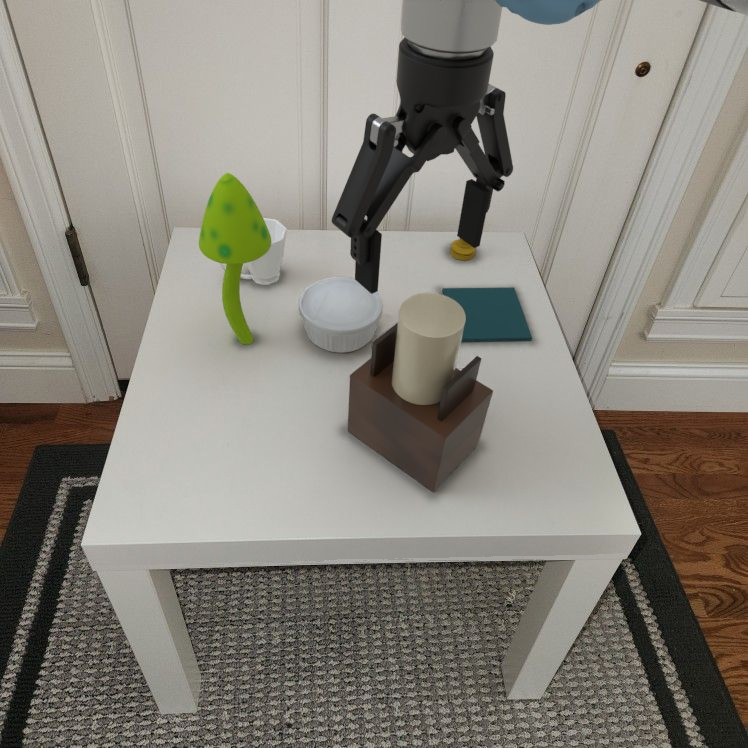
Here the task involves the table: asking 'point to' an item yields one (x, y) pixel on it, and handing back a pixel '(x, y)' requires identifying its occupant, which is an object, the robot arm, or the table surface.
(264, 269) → the cup
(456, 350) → the cream cylinder
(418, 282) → the table surface
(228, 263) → the mushroom
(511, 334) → the mat
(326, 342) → the ramekin
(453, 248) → the chess piece
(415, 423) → the holder
